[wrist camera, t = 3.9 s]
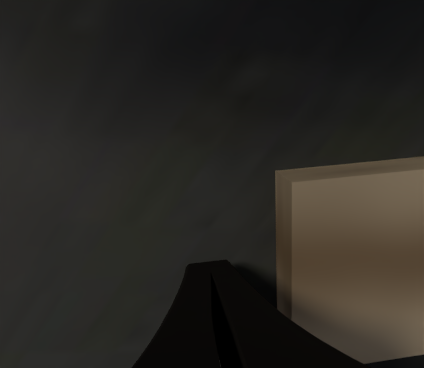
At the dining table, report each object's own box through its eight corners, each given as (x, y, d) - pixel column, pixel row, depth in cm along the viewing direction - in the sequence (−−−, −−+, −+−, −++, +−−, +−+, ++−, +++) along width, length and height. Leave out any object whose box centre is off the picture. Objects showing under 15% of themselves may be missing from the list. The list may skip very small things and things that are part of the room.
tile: (451, 306, 13) (499, 342, 11) (273, 332, 12) (291, 375, 10) (479, 147, 11) (543, 157, 9) (271, 167, 10) (292, 182, 8)
